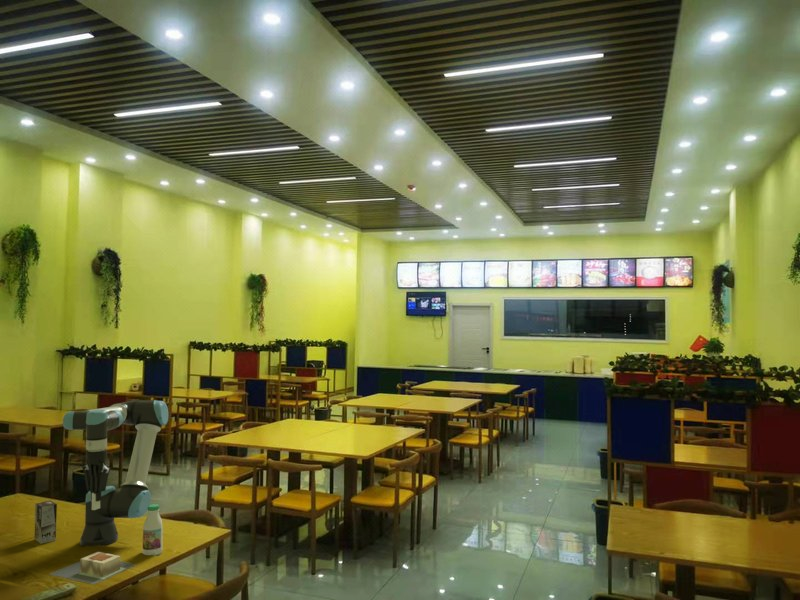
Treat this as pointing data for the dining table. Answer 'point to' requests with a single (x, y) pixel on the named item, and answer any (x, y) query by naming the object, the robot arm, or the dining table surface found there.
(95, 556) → the maple block
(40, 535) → the coffee box
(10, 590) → the dining table surface
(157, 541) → the milk bottle
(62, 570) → the topple mat
